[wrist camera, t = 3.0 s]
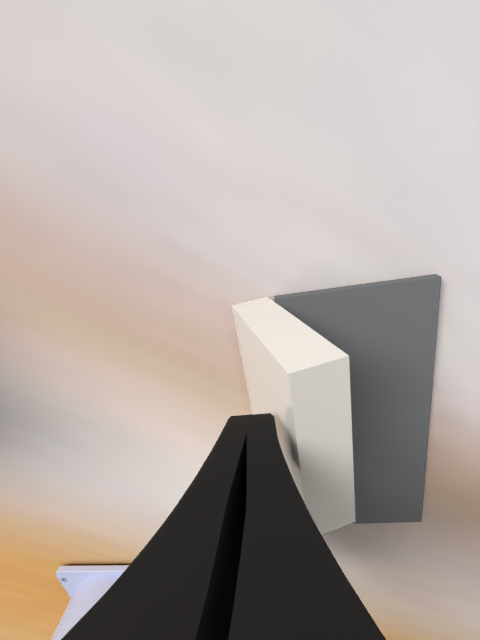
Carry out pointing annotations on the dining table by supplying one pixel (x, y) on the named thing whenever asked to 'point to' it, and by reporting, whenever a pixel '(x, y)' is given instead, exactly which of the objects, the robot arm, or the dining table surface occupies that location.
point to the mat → (383, 384)
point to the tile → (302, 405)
